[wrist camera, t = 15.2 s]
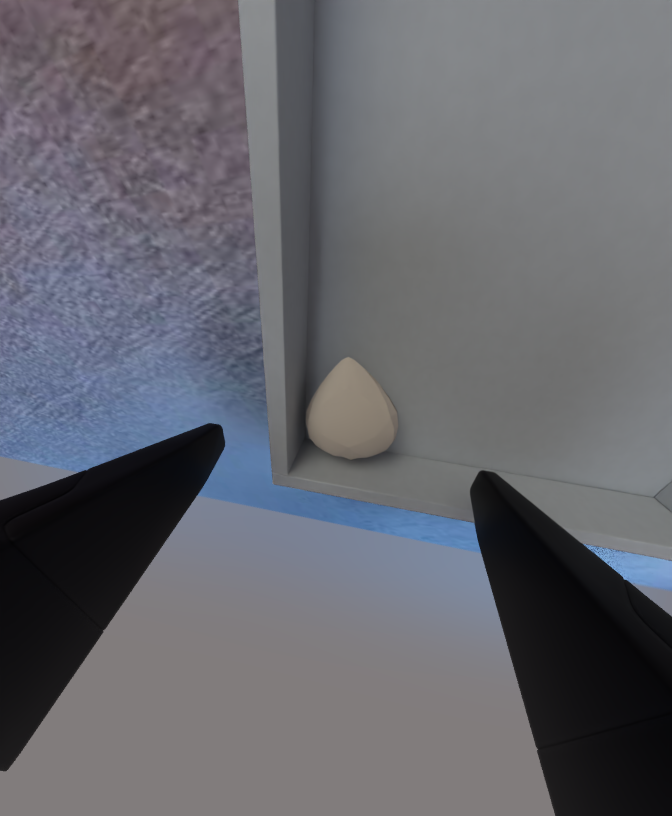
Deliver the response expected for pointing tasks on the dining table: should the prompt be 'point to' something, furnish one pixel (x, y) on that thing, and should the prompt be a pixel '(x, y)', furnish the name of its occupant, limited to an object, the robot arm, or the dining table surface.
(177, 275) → the dining table surface
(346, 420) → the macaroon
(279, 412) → the tray
